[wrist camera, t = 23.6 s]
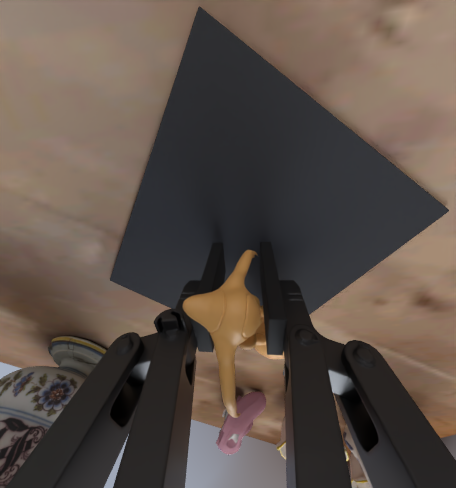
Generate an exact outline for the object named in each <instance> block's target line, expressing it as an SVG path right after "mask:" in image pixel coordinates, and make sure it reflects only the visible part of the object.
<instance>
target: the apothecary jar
mask: <svg viewBox="0 0 456 488" xmlns="http://www.w3.org/2000/svg"><path fill="white" fill-rule="evenodd" d="M51 343H52V345H50V346H49V347H48V350H49V353H50V354H51V356H52V357H53V359H54V361H55V362H56V364H57V365H59V367H48V366H35V367H27V368H23V369H20V370H17V371H15V372H12V373H10V374H8V375H6V376H4V377H3V378H2V379H0V488H5V487H6V486H7V485H8V483H9V482H10V481H11V479H12V478H13V477H14V475H15V474H16V473H17V471H18V470H19V469H20V467H21V466H22V465H23V463H24V462H25V460H26V459H27V458H28V456H29V455H30V454H31V452H32V451H33V450H34V448H35V447H36V446H37V444H38V443H39V442H40V440H41V439H42V438H43V436H44V435H45V434H46V432H47V431H48V429H49V428H50V427H51V425H52V424H53V423H54V421H55V420H56V419H57V417H58V416H59V415H60V413H61V412H62V411H63V409H64V408H65V407H66V405H67V404H68V402H69V401H70V400H71V398H72V397H73V396H74V394H75V393H76V392H77V390H78V389H79V388H80V386H81V385H82V384H83V382H84V381H85V380H86V378H87V377H88V375H89V374H90V373H91V371H92V370H93V369H94V367H95V366H96V365H97V363H98V362H99V361H100V359H101V358H102V357H103V355H104V354H105V353H106V351H107V350H106V349H104V348H103V347H101V346H99V345H97V344H95V343H93V342H91V341H88V340H85V339H81V338H78V337H72V336H60V337H56V338H54V339H52V341H51Z"/></svg>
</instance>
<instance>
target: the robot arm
mask: <svg viewBox="0 0 456 488" xmlns="http://www.w3.org/2000/svg"><path fill="white" fill-rule="evenodd" d="M225 273H226V269H225V260H224V250H223V243H213V244H212V247H211V250H210V253H209V256H208V259H207V262H206V266H205V269H204V272H203V275H202V278H201V280H190V281H189V282H188V283H187V284H186V285H185V286H184V288H183V290H182V294H181V295H180V298H179V300H178V303H177V305H176V307H175V309H169V310H166V311H164V312H162V313H160V314H159V315H158V316H157V317H156V319H155V321H154V324H155V327H156V329H157V331H158V332H157V333H155V334H151V335H148V336H144V337H139V335H138V334H137V333H134V332H132V333H126V334H124V335H122V336H120V337H119V338H117V339H116V340H115V341H114V342H113V343H112V344H111V346H110V347H109V348H108V350H107V351H106V353H105V354H104V355H103V357H102V358H101V359H100V361H99V362H98V363H97V365H96V366H95V367H94V369H93V370H92V371H91V373H90V374H89V375H88V377H87V378H86V380H85V381H84V382H83V384H82V385H81V386H80V388H79V389H78V390H77V392H76V393H75V394H74V396H73V397H72V398H71V400H70V401H69V402H68V404H67V405H66V407H65V408H64V409H63V411H62V412H61V413H60V415H59V416H58V417H57V419H56V420H55V421H54V423H53V424H52V425H51V427H50V428H49V429H48V431H47V432H46V434H45V435H44V436H43V438H42V439H41V440H40V442H39V443H38V444H37V446H36V447H35V448H34V450H33V451H32V452H31V454H30V455H29V456H28V458H27V459H26V460H25V462H24V463H23V465H22V466H21V467H20V469H19V470H18V471H17V473H16V474H15V475H14V477H13V478H12V479H11V481H10V482H9V483H8V485H7V486H6V487H5V488H104V485H105V483H106V481H107V479H108V477H109V475H110V472H111V470H112V468H113V466H114V464H115V462H116V459H117V457H118V455H119V453H120V451H121V449H122V447H123V445H124V442H125V440H126V438H127V436H128V434H129V436H128V439H127V442H126V446H125V449H124V453H123V456H122V459H121V463H120V466H119V470H118V473H117V476H116V480H115V483H114V487H113V488H185V479H186V467H187V457H188V446H189V436H190V425H191V414H192V403H193V392H194V381H195V371H196V356H195V353H196V349H197V347H198V350H199V351H201V352H213V349H214V342H213V340H212V337H211V335H210V332H208V330H207V329H206V328H205V327H204V326H202V325H201V324H200V323H198V322H197V321H195V320H193V319H192V318H191V317H189V316H188V315H187V314H186V313H185V311H184V309H183V302H184V301H185V300H186V299H187V298H189V297H191V296H194V295H199V294H205V293H210V292H213V291H215V290H217V289H219V288H220V287H221V286H222V285H223V284H224V279H225ZM260 279H261V290H262V302H263V313H264V324H265V336H266V347H267V355H283V352H284V358H285V364H284V371H283V375H284V383H285V429H286V472H287V473H286V474H287V488H352V484H351V479H350V475H349V470H348V466H347V460H346V455H345V450H344V445H343V440H342V435H341V431H340V426H339V421H338V416H337V411H336V406H335V401H334V396H333V393H334V395H335V398H336V400H337V403H338V405H339V407H340V410H341V412H342V415H343V417H344V419H345V422H346V424H347V427H348V429H349V431H350V434H351V436H352V439H353V441H354V443H355V446H356V448H357V451H358V453H359V455H360V458H361V460H362V463H363V465H364V467H365V470H366V472H367V475H368V477H369V480H370V482H371V484H372V487H373V488H456V460H455V459H454V457H453V456H452V455H451V453H450V452H449V450H448V449H447V447H446V446H445V445H444V443H443V442H442V440H441V439H440V437H439V436H438V435H437V433H436V432H435V430H434V429H433V428H432V426H431V425H430V423H429V422H428V420H427V419H426V418H425V416H424V415H423V413H422V412H421V411H420V409H419V408H418V406H417V405H416V403H415V402H414V401H413V399H412V398H411V396H410V395H409V393H408V392H407V391H406V389H405V388H404V386H403V385H402V384H401V382H400V381H399V379H398V378H397V376H396V375H395V374H394V372H393V371H392V369H391V368H390V367H389V365H388V364H387V362H386V361H385V359H384V358H383V357H382V355H381V354H380V353H379V352H378V351H377V350H376V349H375V348H373V347H372V346H371V345H369V344H367V343H365V342H362V341H357V340H353V341H349V342H348V343H347V344H346V345H344V344H341V343H338V342H335V341H332V340H329V339H327V338H325V337H323V336H322V335H320V334H319V333H318V332H317V331H316V330H315V328H314V327H313V325H312V322H311V319H310V316H309V313H308V310H307V307H306V304H305V301H304V298H303V295H302V293H301V290H300V287H299V285H298V284H297V283H296V282H295V281H294V280H279V277H278V273H277V268H276V263H275V259H274V254H273V249H272V245H271V242H260Z"/></svg>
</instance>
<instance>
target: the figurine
mask: <svg viewBox="0 0 456 488" xmlns="http://www.w3.org/2000/svg"><path fill="white" fill-rule="evenodd" d="M255 255H256V256H258V255H257V253H256V252H255V251H252V250H246V251H245V252H244V253H243V255H242V256H241V258H240V259H239V261H238V263H237V265H236V267H235V269H234V271H233V272H232V274H231V275H230V276H229V277H228V279H227V280H226V281H225V283H224V284H223V285H222V286H221V287H220V288H219V289H217V290H215V291H213V292H210V293H205V294H199V295H194V296H191V297H189V298H187V299H186V300H185V301H184V302H183V309H184V311H185V313H186V314H187V315H188V316H189V317H191V318H192V319H193V320H195V321H197V322H198V323H200V324H201V325H202V326H204V327H205V328H206V329H207V330H208V332H210V335H211V337H212V340H213V342H214V346H215V351H216V355H217V359H218V363H219V378H220V386H221V393H222V398H223V403H224V405H225V407H226V410H227V412H228V414H230V415H231V416H232V417H234V418H238V417H239V416H240V414H241V413H239V414H238V413H237V403H236V399H235V364H234V356H235V351H236V348H237V347H238V346H240V348H241V349H243V350H250V349H253V348H255V349H256V350H257V351H258V352H259V353H260V354H262V355H263V356H265V357H267V358H270V359H283V358H284V352H283V355H267V347H266V336H265V324H264V313H263V305H262V306H260V301H259V299H258V298H257V297H256V296H254V295H252V294H251V293H250V292H249V291H248V290H247V289H246V287H245V285H244V280H245V277H246V274H247V272H248V269H249V266H250V263H251V259H252V258H254V257H255Z"/></svg>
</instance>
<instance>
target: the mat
mask: <svg viewBox="0 0 456 488" xmlns="http://www.w3.org/2000/svg"><path fill="white" fill-rule="evenodd" d="M448 211H449V210H448V209H447V208H446V207H445V206H443V205H442V204H441V203H440V202H438V201H437V200H436V199H435V198H434V197H432V196H431V195H430V194H429V193H427V192H426V191H425V190H424V189H423V188H421V187H420V186H419V185H418V184H416V183H415V182H414V181H413V180H412V179H410V178H409V177H408V176H407V175H405V174H404V173H403V172H402V171H400V170H399V169H398V168H397V167H396V166H394V165H393V164H392V163H391V162H389V161H388V160H387V159H386V158H385V157H383V156H382V155H381V154H380V153H378V152H377V151H376V150H375V149H374V148H372V147H371V146H370V145H369V144H367V143H366V142H365V141H364V140H363V139H361V138H360V137H359V136H358V135H356V134H355V133H354V132H353V131H351V130H350V129H349V128H348V127H347V126H345V125H344V124H343V123H342V122H340V121H339V120H338V119H337V118H336V117H334V116H333V115H332V114H331V113H329V112H328V111H327V110H326V109H325V108H323V107H322V106H321V105H320V104H318V103H317V102H316V101H315V100H313V99H312V98H311V97H310V96H309V95H307V94H306V93H305V92H304V91H302V90H301V89H300V88H299V87H298V86H296V85H295V84H294V83H293V82H291V81H290V80H289V79H288V78H287V77H285V76H284V75H283V74H282V73H280V72H279V71H278V70H277V69H276V68H274V67H273V66H272V65H271V64H269V63H268V62H267V61H266V60H264V59H263V58H262V57H261V56H260V55H258V54H257V53H256V52H255V51H253V50H252V49H251V48H250V47H249V46H247V45H246V44H245V43H244V42H242V41H241V40H240V39H239V38H238V37H236V36H235V35H234V34H233V33H231V32H230V31H229V30H228V29H227V28H225V27H224V26H223V25H222V24H220V23H219V22H218V21H217V20H215V19H214V18H213V17H212V16H211V15H209V14H208V13H207V12H206V11H204V10H203V9H202V8H201V7H199V8H198V11H197V14H196V17H195V20H194V23H193V26H192V29H191V32H190V35H189V38H188V42H187V45H186V48H185V51H184V54H183V57H182V60H181V63H180V66H179V69H178V72H177V75H176V78H175V81H174V85H173V88H172V91H171V94H170V97H169V100H168V103H167V106H166V109H165V112H164V115H163V118H162V121H161V124H160V128H159V131H158V134H157V137H156V140H155V143H154V146H153V149H152V152H151V155H150V158H149V161H148V164H147V167H146V171H145V174H144V177H143V180H142V183H141V186H140V189H139V192H138V195H137V198H136V201H135V204H134V207H133V211H132V214H131V217H130V220H129V223H128V226H127V229H126V232H125V235H124V238H123V241H122V244H121V247H120V250H119V254H118V257H117V260H116V263H115V266H114V269H113V272H112V275H111V278H110V281H112V282H115V283H117V284H119V285H121V286H123V287H126V288H128V289H130V290H132V291H134V292H137V293H139V294H141V295H143V296H145V297H148V298H150V299H152V300H154V301H156V302H159V303H161V304H163V305H165V306H167V307H170V308H172V309H175V307H176V305H177V303H178V300H179V298H180V295H181V294H182V290H183V288H184V286H185V285H186V284H187V283H188V282H189V281H190V280H201V278H202V275H203V272H204V269H205V266H206V262H207V259H208V256H209V253H210V250H211V247H212V244H213V243H223V250H224V260H225V269H226V273H225V279H224V283H225V281H226V280H227V279H228V277H229V276H230V275H231V274H232V272H233V271H234V269H235V267H236V265H237V263H238V261H239V259H240V258H241V256H242V255H243V253H244V252H245V251H246V250H252V251H255V252H256V253H257V255H258V256H256V255H255V257H254V258H252V259H251V263H250V266H249V269H248V272H247V274H246V277H245V280H244V285H245V287H246V289H247V290H248V291H249V292H250V293H251V294H252V295H254V296H256V297H257V298H258V299H259V301H260V306H262V305H263V302H262V290H261V279H260V242H271V245H272V249H273V254H274V259H275V263H276V268H277V273H278V277H279V280H294V281H295V282H296V283H297V284H298V285H299V287H300V290H301V293H302V295H303V298H304V301H305V304H306V307H307V310H308V313H309V314H311V313H312V312H313V311H315V310H316V309H318V308H319V307H320V306H322V305H323V304H324V303H326V302H327V301H328V300H330V299H331V298H332V297H334V296H335V295H336V294H338V293H339V292H340V291H342V290H343V289H345V288H346V287H347V286H349V285H350V284H351V283H353V282H354V281H355V280H357V279H358V278H359V277H361V276H362V275H363V274H365V273H366V272H367V271H369V270H370V269H372V268H373V267H374V266H376V265H377V264H378V263H380V262H381V261H382V260H384V259H385V258H386V257H388V256H389V255H390V254H392V253H393V252H394V251H396V250H397V249H398V248H400V247H401V246H403V245H404V244H405V243H407V242H408V241H409V240H411V239H412V238H413V237H415V236H416V235H417V234H419V233H420V232H421V231H423V230H424V229H425V228H427V227H428V226H430V225H431V224H432V223H434V222H435V221H436V220H438V219H439V218H440V217H442V216H443V215H444V214H446V213H447V212H448Z"/></svg>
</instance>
